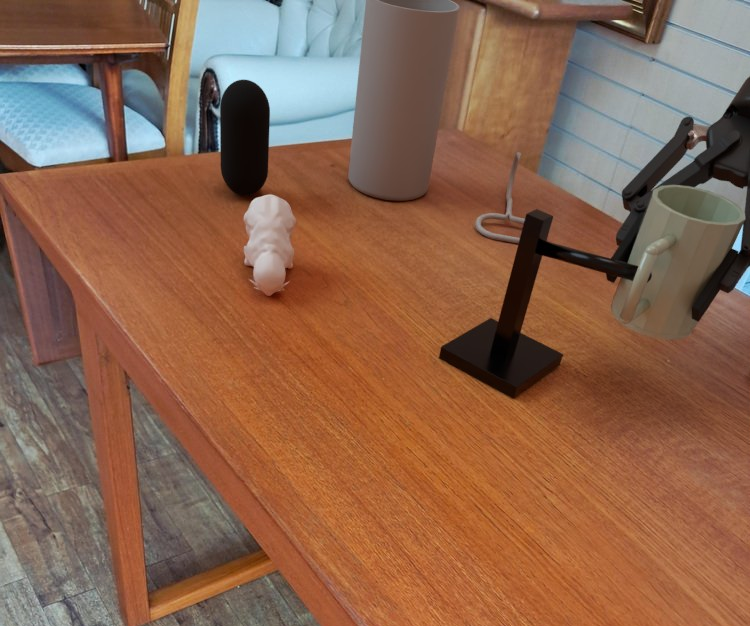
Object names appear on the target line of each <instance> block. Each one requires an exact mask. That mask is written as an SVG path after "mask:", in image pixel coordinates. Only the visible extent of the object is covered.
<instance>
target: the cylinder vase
mask: <svg viewBox="0 0 750 626" xmlns="http://www.w3.org/2000/svg"><path fill="white" fill-rule="evenodd" d="M459 12H460V5H459V4H458V3H456V2H455V1H453V0H365V6H364V16H363V25H362V34H361V35H362V36H361V46H360V54H359V65H358V73H357V74H358V75H357V84H356V92H355V93H356V95H355V103H354V115H353V122H352V134H351V143H350V144H351V145H350V153H349V164H348V173H347V177H348V181H349V183H350V184H351V186H352V187H353V188H354V189H356V190H357V191H358V192H360V193H362V194H364V195H367V196H369V197H372V198H376V199H379V200H383V201H384V200H386V201H394V202H401V201H402V202H404V201H412V200H415V199H419V198H421V197H422V196H424V195H425V194H426V193H427V191H428V190H429V185H430V180H431V174H432V169H433V162H434V157H435V151H436V146H437V141H438V133H439V128H440V122H441V116H442V110H443V104H444V99H445V93H446V87H447V86H446V85H447V81H448V76H449V69H450V65H451V64H450V63H451V58H452V53H453V52H452V51H453V47H454V41H455V36H456V35H455V34H456V29H457V22H458V17H459Z"/></svg>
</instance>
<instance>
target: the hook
mask: <svg viewBox="0 0 750 626" xmlns="http://www.w3.org/2000/svg"><path fill="white" fill-rule="evenodd" d="M521 157H522V153H521V152H520V151H517V152H515V155H514V157H513V160H512V165H511V168H510V173H509V177H508V183H507V186H506V187H507V188H506V194H505V202H506V212H505V214H503V213H496V212H490V213H489V212H488V213H484V214H481V215H479V216H478V217H477V218H476V219H475V223H474V225H475V229H476V230H477V232H479V234H480V235H482V236H484V237H486V238H489V239H491V240H497V241H502V242H506V243H513V244H517V245H518V244H519V240H520V237H517V236H512V235H505V234H501V233H495V232H492V231H489V230H487V229H485V227H483V226H482V222H484V221H487V220H499V221H506V220H507V219H508V220H509V221H510V222H512V223H516V224H521V225H522V226H523V225H524V221H525V218H523V217H520V216H519V217H518V216H515V215H513V198H512V194H513V188H514V186H513V185H514V181H515V177H516V173H517V168H518V164H519V161H520V159H521Z"/></svg>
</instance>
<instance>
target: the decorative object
mask: <svg viewBox="0 0 750 626" xmlns="http://www.w3.org/2000/svg"><path fill="white" fill-rule="evenodd" d="M219 104H220V105H219V124H220V125H219V127H220V128H219V130H220V133H219V136H220V137H219V138H220V139H219V143H220V172H221V176H222V179H223V182H224V184H225V185H226V186H227V187H228V189H229V190H230V191H232V192H233V193H234V194H236V195H239V196H245V197H248V196H252V195H254V194H257V193H258V192H260V190H261V189H262V188H263V187H264V185H265V184H266V181H267V178H268V174H269V154H270V152H269V151H270V124H271V123H270V122H271V120H270V119H271V108H270V103H269V98H268V96H267V95H266V93H265V91H264V89H263V88H262V87H261V86H260V85H259V84H257V83H256V82H254V81H252V80H250V79H238V80H235V81H233V82H231V83H230V84H229V85H228V86H227V87H226V88H225V90H224V91H223V93H222V96H221V98H220V103H219Z"/></svg>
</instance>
